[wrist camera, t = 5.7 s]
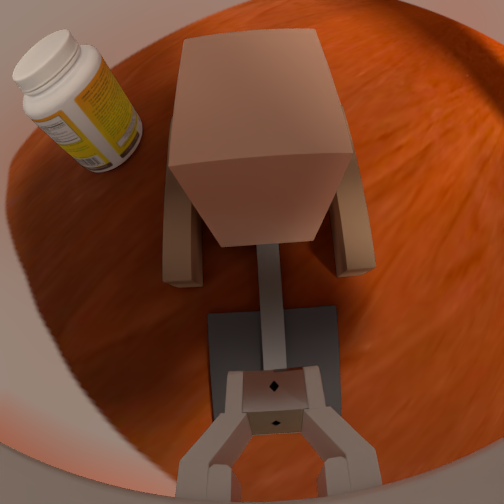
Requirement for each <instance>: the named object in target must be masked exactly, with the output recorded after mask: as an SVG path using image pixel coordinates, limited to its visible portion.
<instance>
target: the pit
mask: <svg viewBox="0 0 504 504" xmlns="http://www.w3.org/2000/svg"><path fill="white" fill-rule="evenodd" d="M283 313H284V329H285V346H286V364H287V368H294V367H308V366H316V365H317V366H318V367H319V370H320V375H321V381H322V387H323V392H324V398H325V404H326V407H328V406H331V407H332V408H333V409H334V410H335V411H336V412H337V413H338V414H339V415H340V416H341V387H340V358H339V339H338V323H337V310H336V305H330V306H320V307H308V308H296V309H283ZM207 320H208V340H209V358H210V373H211V387H212V400H213V413H214V421H215V419H216V418H217V417H218V416H219V414H220V413H225V402H226V388H227V375H228V372H229V371H258V370H264V365H263V347H262V330H261V313H260V311H252V312H234V313H210V314H207Z"/></svg>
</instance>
